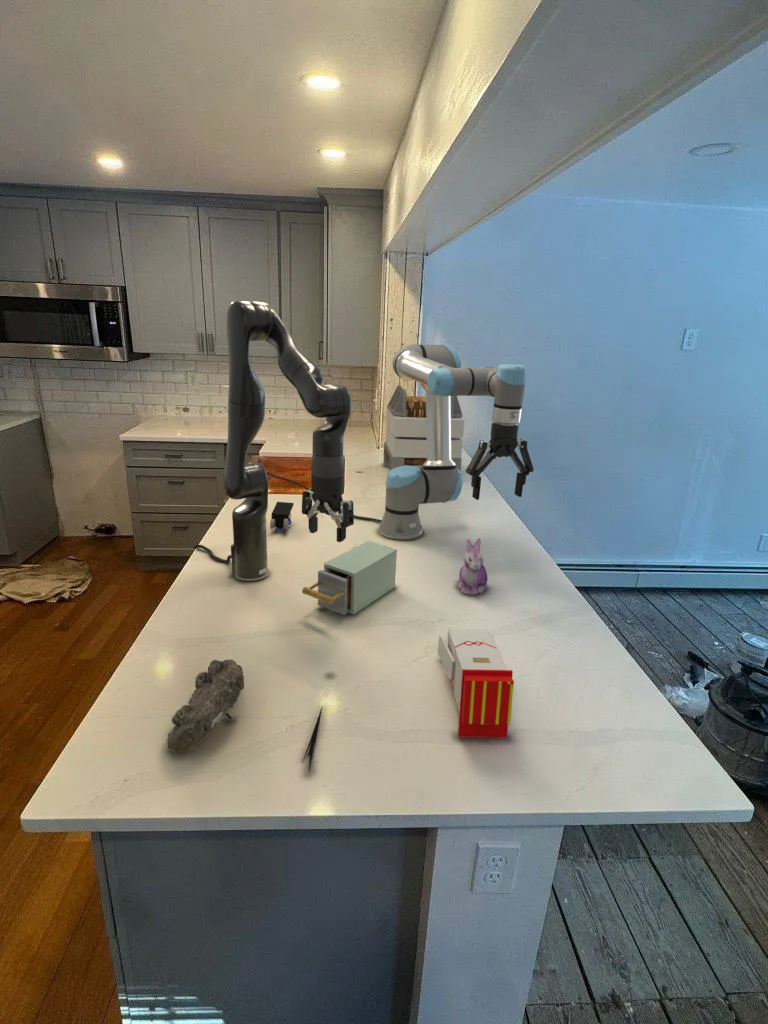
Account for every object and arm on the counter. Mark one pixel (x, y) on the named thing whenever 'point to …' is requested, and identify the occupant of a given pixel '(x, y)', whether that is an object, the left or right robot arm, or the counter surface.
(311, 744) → the feather
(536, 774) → the counter surface
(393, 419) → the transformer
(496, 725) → the toy
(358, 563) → the cabinet
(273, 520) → the figurine character
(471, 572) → the figurine
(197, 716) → the fossil
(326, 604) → the drawer
